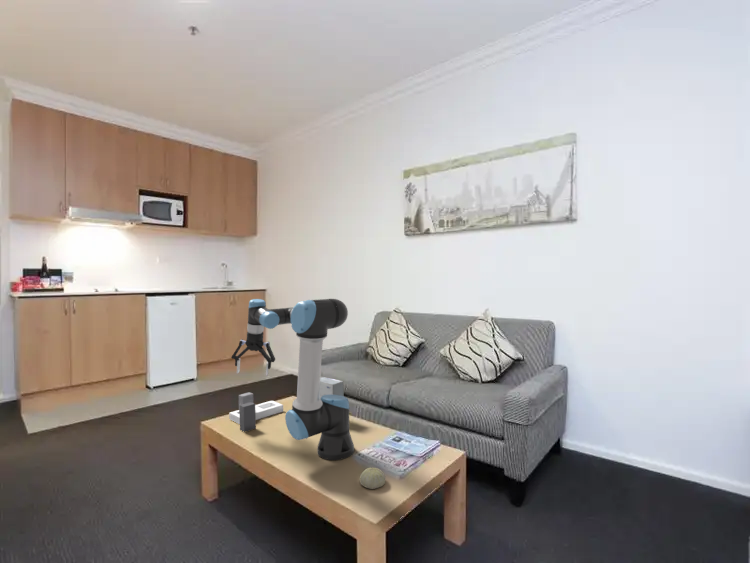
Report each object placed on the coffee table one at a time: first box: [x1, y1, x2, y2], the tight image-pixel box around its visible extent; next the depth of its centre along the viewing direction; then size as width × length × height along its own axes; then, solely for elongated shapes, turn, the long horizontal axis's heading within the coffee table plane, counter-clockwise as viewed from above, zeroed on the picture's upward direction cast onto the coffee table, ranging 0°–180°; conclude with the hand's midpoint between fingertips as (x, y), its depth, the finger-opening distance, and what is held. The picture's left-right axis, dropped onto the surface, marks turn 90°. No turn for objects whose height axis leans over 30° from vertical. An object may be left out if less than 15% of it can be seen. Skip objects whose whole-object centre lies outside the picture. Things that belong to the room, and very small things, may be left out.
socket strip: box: [228, 392, 284, 425], centre depth 207 cm, size 11×25×12 cm, turn 137°
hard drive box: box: [319, 376, 345, 399], centre depth 199 cm, size 16×8×20 cm, turn 49°
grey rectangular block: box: [238, 402, 257, 433], centre depth 189 cm, size 4×6×12 cm, turn 137°
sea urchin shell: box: [359, 467, 386, 490], centre depth 139 cm, size 9×8×8 cm
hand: (252, 373), depth 191 cm, fingers open, 13 cm apart
